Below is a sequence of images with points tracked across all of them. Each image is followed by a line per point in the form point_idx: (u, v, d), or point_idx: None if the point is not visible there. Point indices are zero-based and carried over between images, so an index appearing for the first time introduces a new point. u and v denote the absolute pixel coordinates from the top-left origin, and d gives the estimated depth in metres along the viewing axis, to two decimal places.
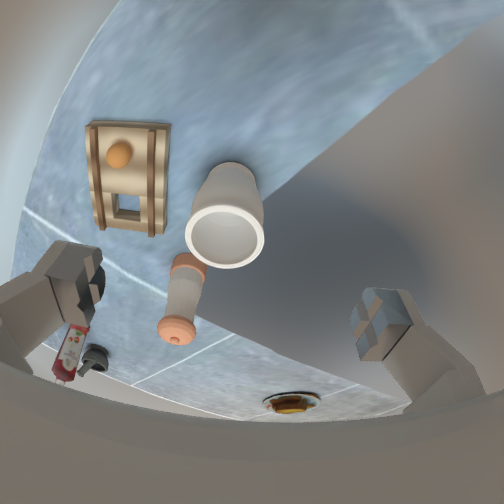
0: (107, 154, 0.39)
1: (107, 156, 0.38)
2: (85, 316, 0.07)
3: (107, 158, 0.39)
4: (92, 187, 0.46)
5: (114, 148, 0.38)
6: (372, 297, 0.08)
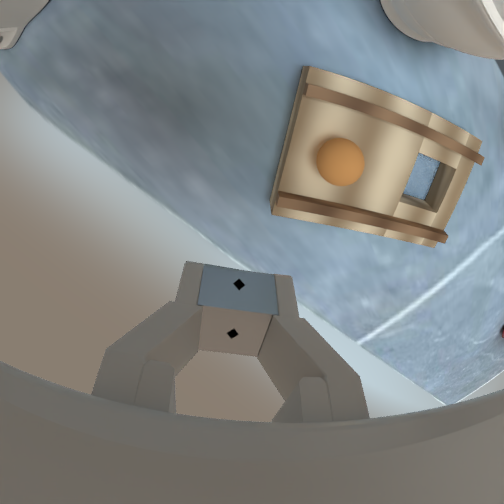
0: (331, 180, 0.22)
1: (334, 180, 0.22)
2: (230, 342, 0.07)
3: (339, 181, 0.22)
4: (379, 230, 0.29)
5: (322, 163, 0.22)
6: (237, 281, 0.08)
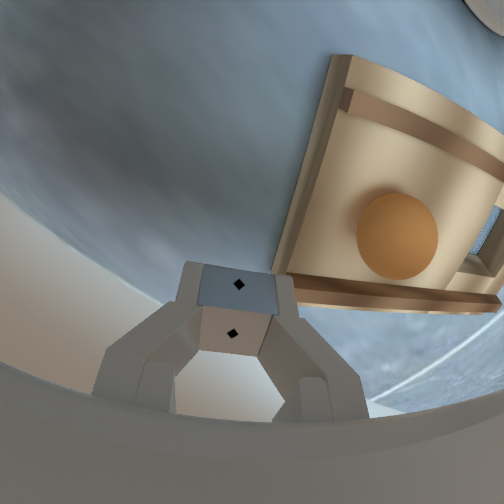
0: (383, 274, 0.12)
1: (389, 276, 0.12)
2: (230, 342, 0.07)
3: (396, 278, 0.12)
4: None
5: (372, 248, 0.12)
6: (238, 280, 0.08)
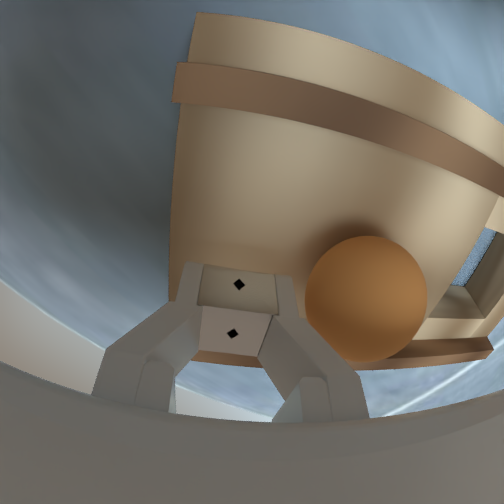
0: None
1: None
2: (230, 342, 0.07)
3: None
4: None
5: (386, 354, 0.07)
6: (238, 280, 0.08)
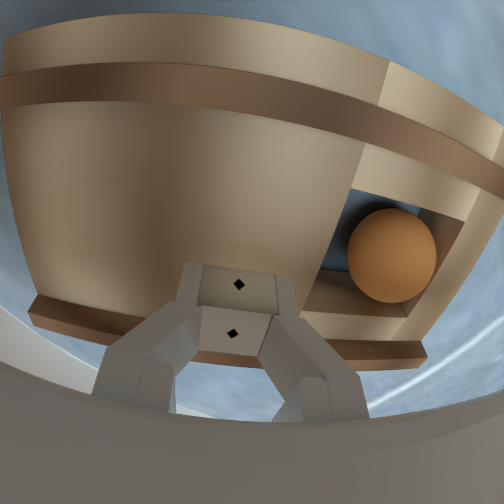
0: (378, 298, 0.11)
1: (385, 300, 0.11)
2: (230, 342, 0.07)
3: (392, 301, 0.11)
4: None
5: (366, 272, 0.11)
6: (238, 280, 0.08)
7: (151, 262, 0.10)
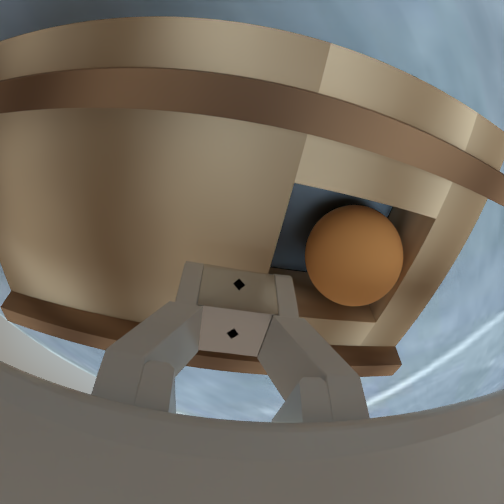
0: (336, 301, 0.11)
1: (343, 303, 0.11)
2: (230, 342, 0.07)
3: (352, 305, 0.11)
4: None
5: (320, 273, 0.10)
6: (238, 280, 0.08)
7: (104, 260, 0.10)
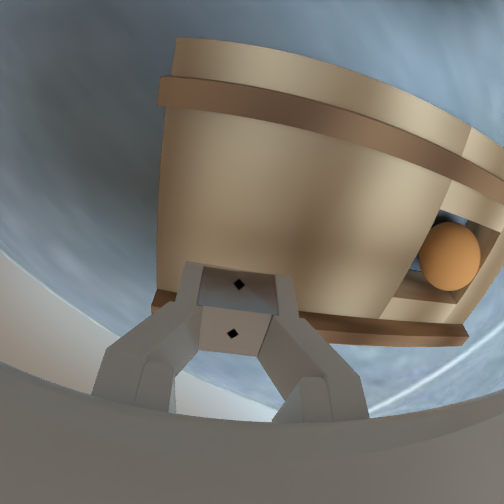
0: (441, 287, 0.14)
1: (446, 288, 0.14)
2: (230, 342, 0.07)
3: (450, 289, 0.14)
4: None
5: (436, 266, 0.13)
6: (237, 281, 0.08)
7: (296, 258, 0.13)
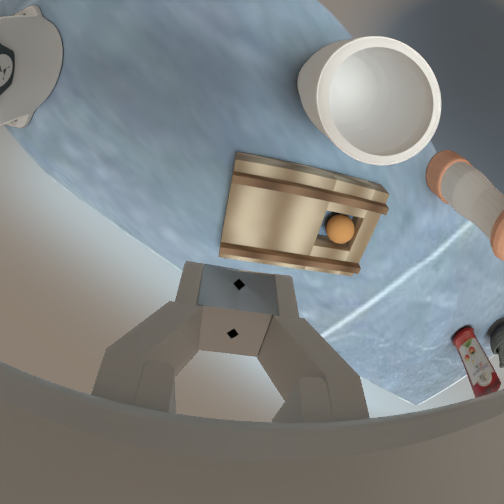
0: (334, 241, 0.39)
1: (336, 241, 0.39)
2: (230, 342, 0.07)
3: (338, 242, 0.39)
4: (300, 265, 0.42)
5: (329, 232, 0.39)
6: (237, 281, 0.08)
7: (273, 228, 0.38)
